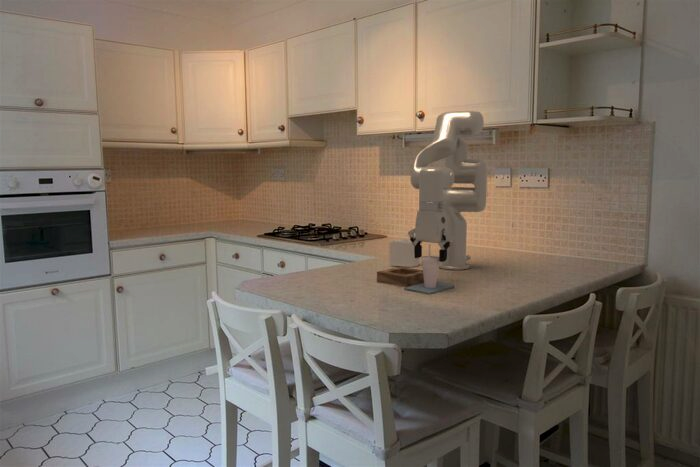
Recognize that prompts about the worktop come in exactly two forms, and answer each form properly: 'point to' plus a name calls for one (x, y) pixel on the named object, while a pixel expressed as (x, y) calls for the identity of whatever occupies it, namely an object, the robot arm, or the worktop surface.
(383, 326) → the worktop surface
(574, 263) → the worktop surface
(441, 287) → the mat
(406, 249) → the toilet tissue
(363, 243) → the worktop surface
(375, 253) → the worktop surface
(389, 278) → the wooden square frame
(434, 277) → the smoothie
